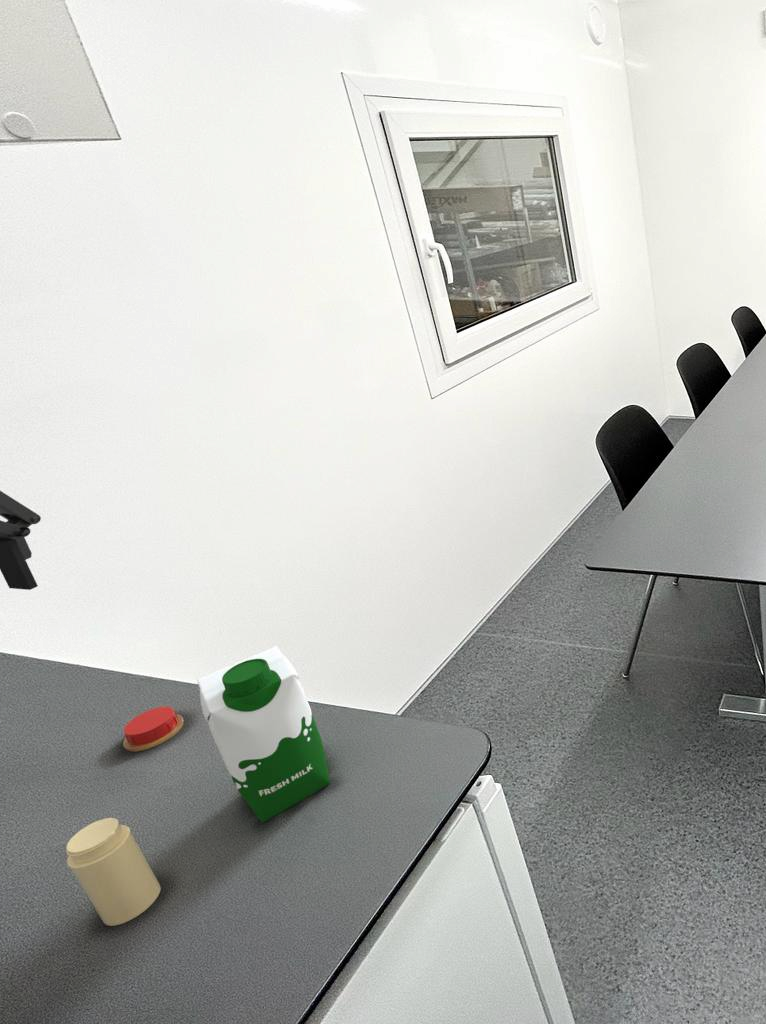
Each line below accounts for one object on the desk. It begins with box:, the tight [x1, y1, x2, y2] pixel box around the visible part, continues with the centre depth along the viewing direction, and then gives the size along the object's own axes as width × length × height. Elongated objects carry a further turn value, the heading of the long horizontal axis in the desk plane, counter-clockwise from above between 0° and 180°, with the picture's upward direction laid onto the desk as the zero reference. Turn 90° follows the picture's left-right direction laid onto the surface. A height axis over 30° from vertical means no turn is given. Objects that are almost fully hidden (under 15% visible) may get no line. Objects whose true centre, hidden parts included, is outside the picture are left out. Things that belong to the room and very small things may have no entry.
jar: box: [65, 817, 162, 927], centre depth 65 cm, size 4×4×11 cm
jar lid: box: [123, 706, 178, 745], centre depth 86 cm, size 5×5×2 cm
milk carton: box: [196, 645, 331, 824], centre depth 76 cm, size 9×9×20 cm
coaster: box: [122, 713, 185, 753], centre depth 87 cm, size 6×6×1 cm
